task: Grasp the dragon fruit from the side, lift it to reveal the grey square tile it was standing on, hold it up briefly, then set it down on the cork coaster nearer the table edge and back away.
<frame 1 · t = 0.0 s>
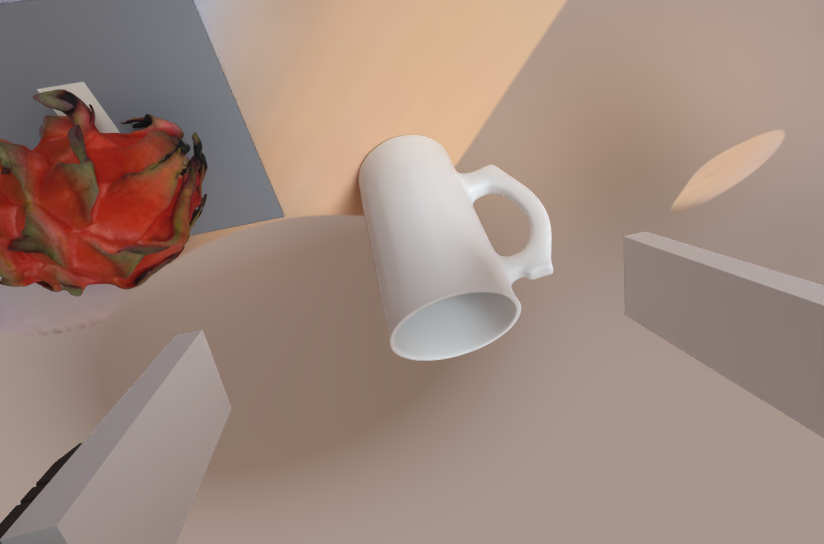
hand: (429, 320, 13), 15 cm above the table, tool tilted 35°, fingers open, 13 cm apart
grey square tile: (111, 149, 22), on the table
mug: (426, 161, 28), on the table
dragon fruit: (111, 149, 22), resting on grey square tile
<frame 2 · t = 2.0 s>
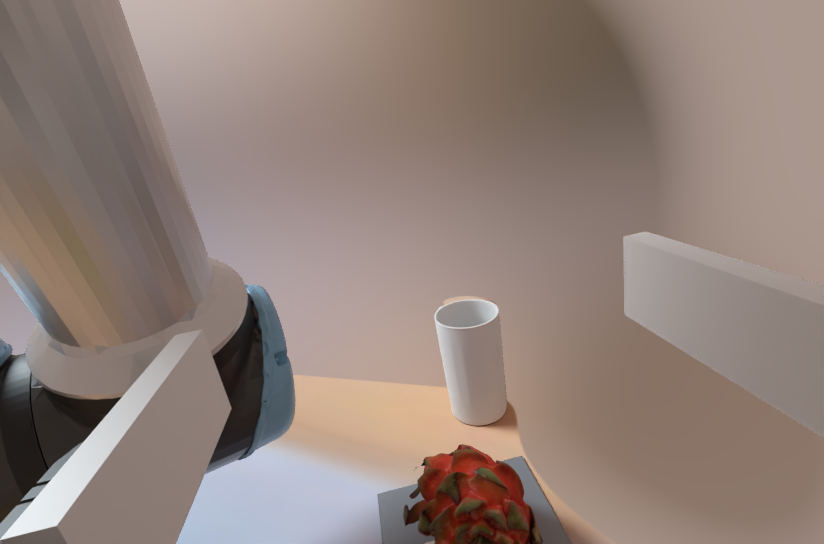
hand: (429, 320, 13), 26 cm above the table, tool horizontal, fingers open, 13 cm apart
grey square tile: (473, 543, 33), on the table
mug: (471, 401, 50), on the table
dragon fruit: (473, 543, 33), resting on grey square tile
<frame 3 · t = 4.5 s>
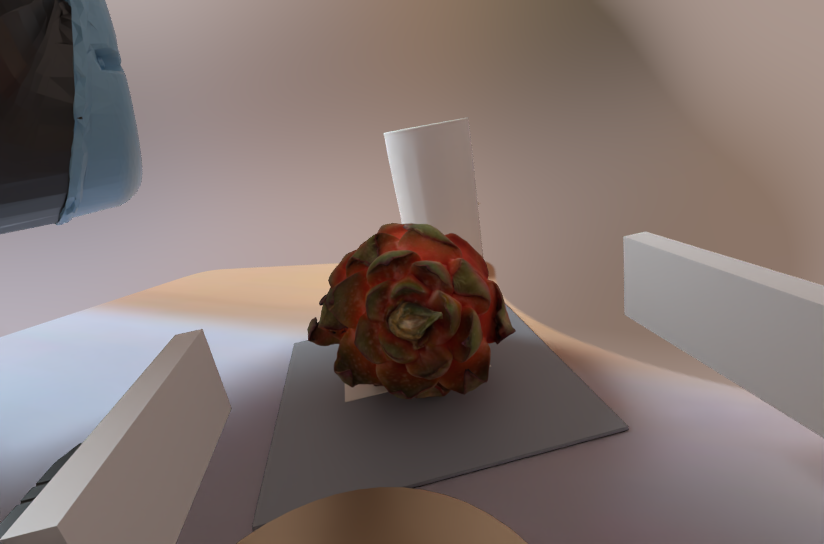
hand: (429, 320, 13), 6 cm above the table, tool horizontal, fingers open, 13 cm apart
grey square tile: (416, 376, 22), on the table
mug: (439, 267, 39), on the table
dragon fruit: (416, 376, 22), resting on grey square tile
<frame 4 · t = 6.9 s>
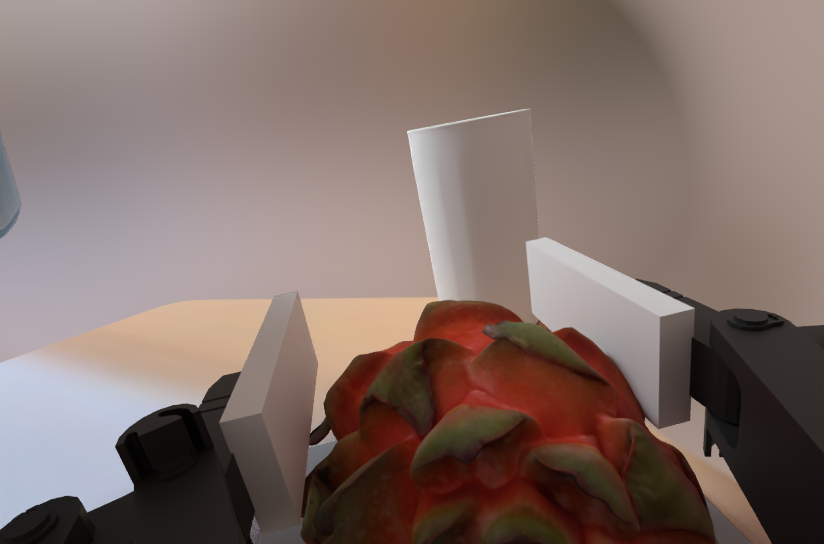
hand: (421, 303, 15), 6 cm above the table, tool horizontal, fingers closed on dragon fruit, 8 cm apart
mug: (477, 311, 29), on the table
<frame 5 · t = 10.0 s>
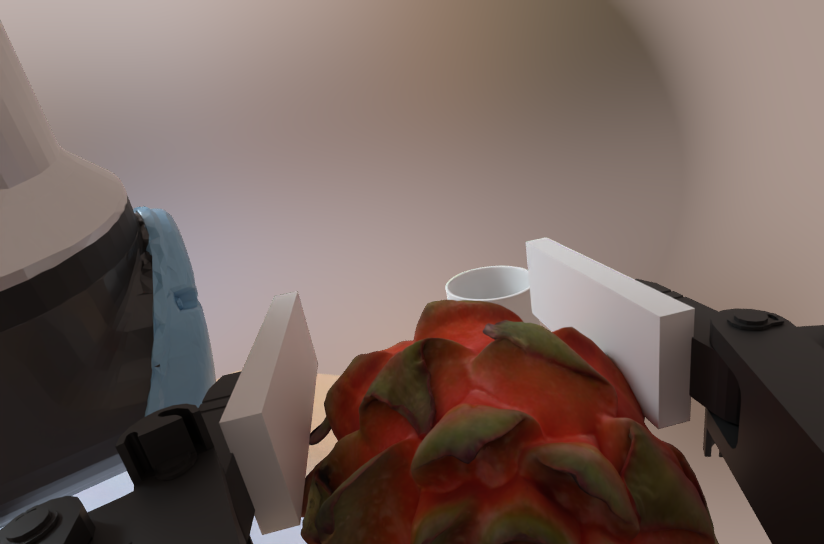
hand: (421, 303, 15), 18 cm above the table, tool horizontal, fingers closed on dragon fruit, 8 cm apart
mug: (494, 405, 37), on the table
when the fingers open (8 cm above the table, at t = 12.9 s): dragon fruit drops 1 cm, resting on coaster.
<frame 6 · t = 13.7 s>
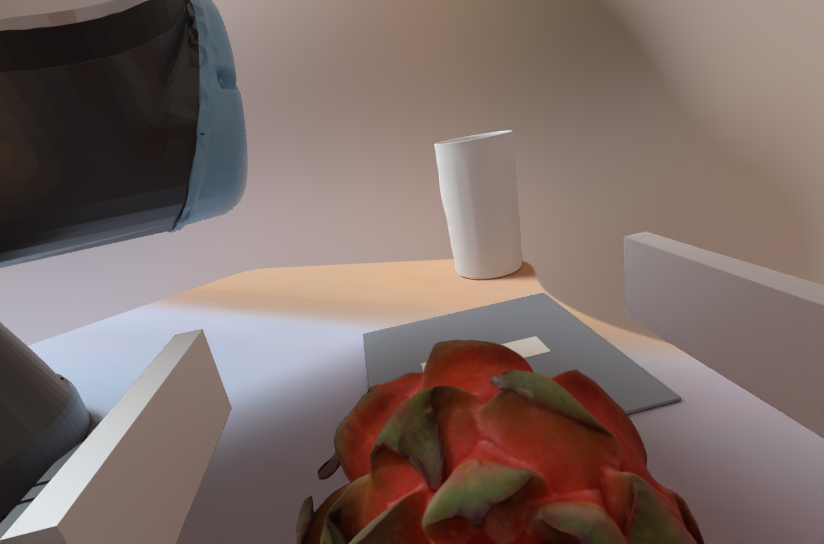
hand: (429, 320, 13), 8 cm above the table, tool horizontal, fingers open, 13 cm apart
grey square tile: (484, 360, 25), on the table
mug: (479, 266, 42), on the table
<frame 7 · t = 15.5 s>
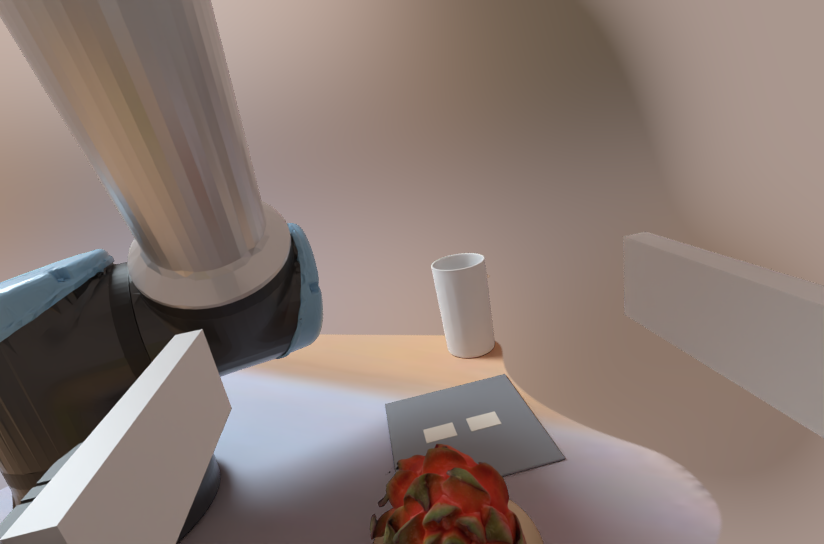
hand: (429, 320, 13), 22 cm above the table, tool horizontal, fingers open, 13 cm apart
grey square tile: (462, 428, 41), on the table
mug: (465, 343, 58), on the table
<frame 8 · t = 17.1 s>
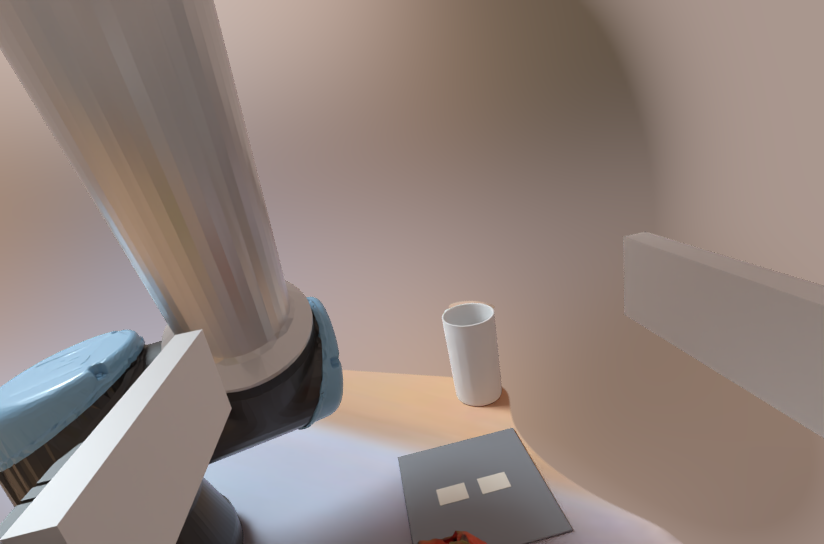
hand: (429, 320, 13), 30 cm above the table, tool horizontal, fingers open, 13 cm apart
grey square tile: (473, 489, 43), on the table
mug: (472, 388, 60), on the table
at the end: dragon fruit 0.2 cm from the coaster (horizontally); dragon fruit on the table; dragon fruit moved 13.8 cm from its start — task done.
